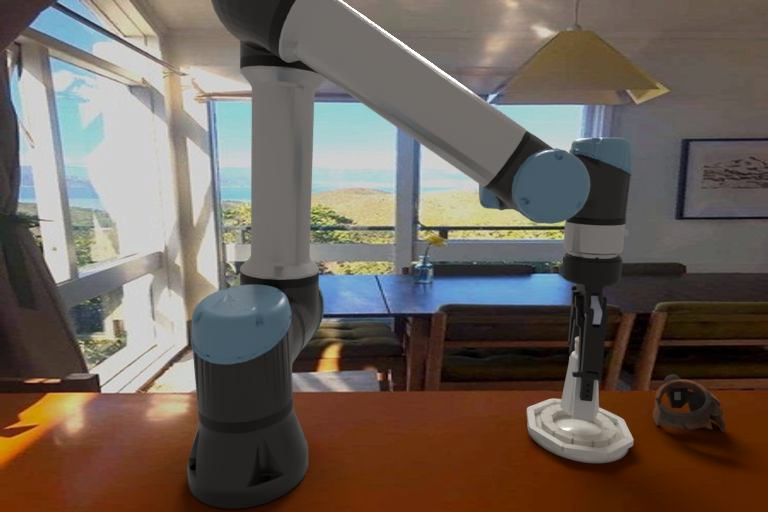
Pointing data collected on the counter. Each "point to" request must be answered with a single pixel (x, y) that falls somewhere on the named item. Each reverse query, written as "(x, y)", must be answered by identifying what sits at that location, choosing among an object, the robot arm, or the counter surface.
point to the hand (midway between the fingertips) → (579, 407)
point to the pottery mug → (699, 404)
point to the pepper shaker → (570, 383)
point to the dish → (578, 433)
